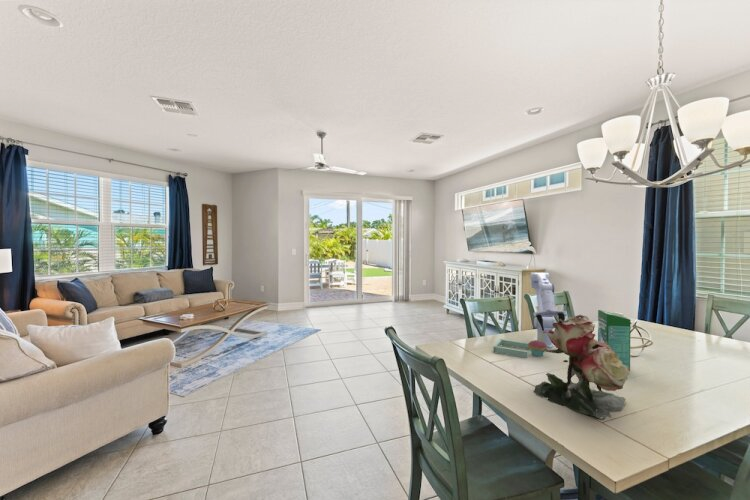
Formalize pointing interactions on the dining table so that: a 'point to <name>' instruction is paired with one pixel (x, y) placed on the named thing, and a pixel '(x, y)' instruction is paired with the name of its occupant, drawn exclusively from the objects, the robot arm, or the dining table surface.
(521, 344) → the mint green u shape
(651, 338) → the dining table surface
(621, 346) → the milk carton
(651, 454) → the dining table surface
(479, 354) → the dining table surface
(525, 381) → the dining table surface
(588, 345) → the rose bouquet
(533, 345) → the cupcake
